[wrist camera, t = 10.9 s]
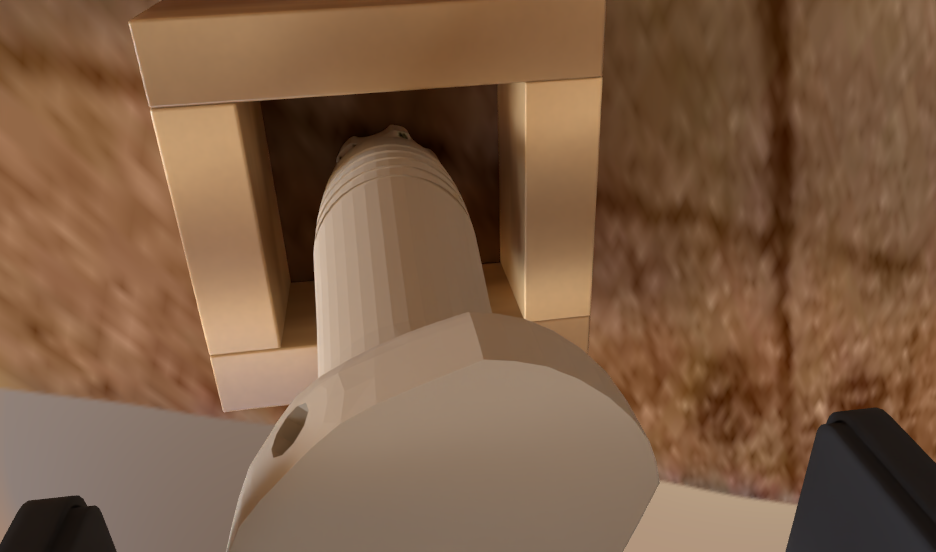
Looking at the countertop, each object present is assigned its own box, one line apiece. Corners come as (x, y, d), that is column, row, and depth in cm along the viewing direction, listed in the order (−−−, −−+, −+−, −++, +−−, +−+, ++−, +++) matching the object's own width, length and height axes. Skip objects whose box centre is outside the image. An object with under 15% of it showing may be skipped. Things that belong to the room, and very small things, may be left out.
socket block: (165, -4, 20) (126, 20, 16) (564, -26, 21) (608, -8, 17) (240, 339, 25) (222, 413, 21) (555, 306, 26) (588, 371, 23)
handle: (510, 144, 23) (724, 484, 10) (379, 285, 25) (414, 735, 12) (392, 39, 21) (465, 289, 8) (258, 199, 23) (135, 627, 10)
